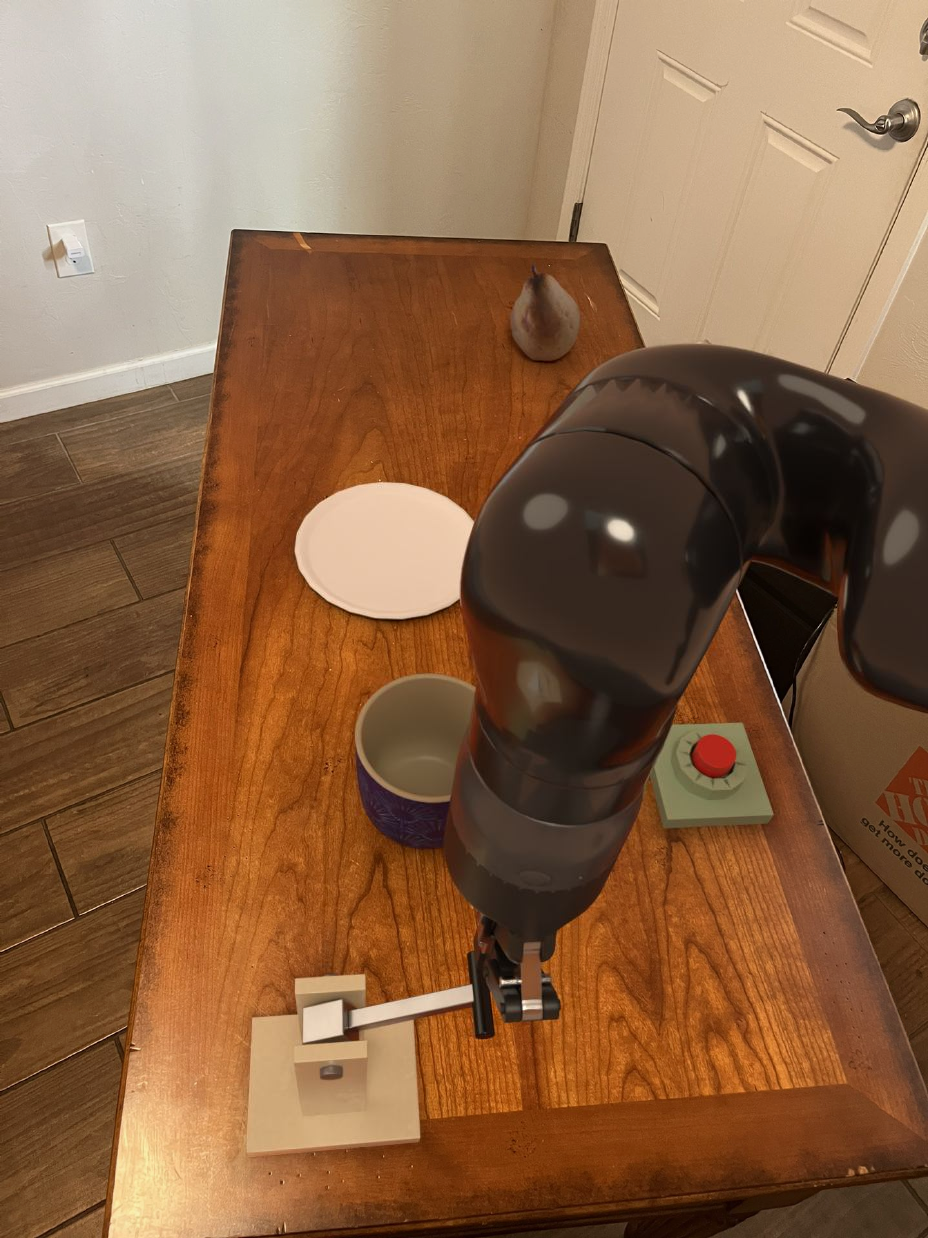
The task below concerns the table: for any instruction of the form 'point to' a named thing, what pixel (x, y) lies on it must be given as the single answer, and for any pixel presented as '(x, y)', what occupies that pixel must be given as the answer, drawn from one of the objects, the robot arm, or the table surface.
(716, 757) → the button
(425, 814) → the planter
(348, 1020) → the lever
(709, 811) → the button block
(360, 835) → the table surface
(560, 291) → the fruit
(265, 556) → the table surface
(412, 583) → the plate
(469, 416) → the table surface
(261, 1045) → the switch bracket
